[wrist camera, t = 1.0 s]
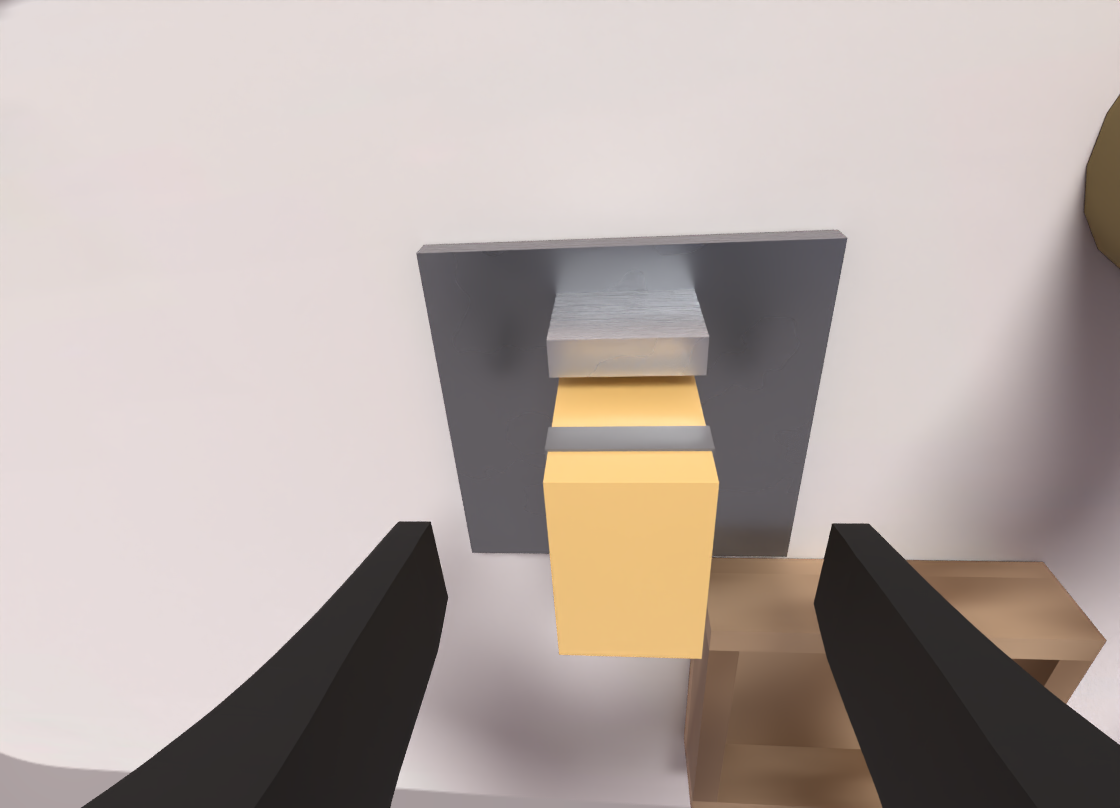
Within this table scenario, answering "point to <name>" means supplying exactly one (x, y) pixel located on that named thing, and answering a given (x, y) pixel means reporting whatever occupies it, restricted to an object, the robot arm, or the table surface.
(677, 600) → the block
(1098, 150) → the cork
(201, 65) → the table surface
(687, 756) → the tray
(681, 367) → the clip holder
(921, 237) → the table surface
